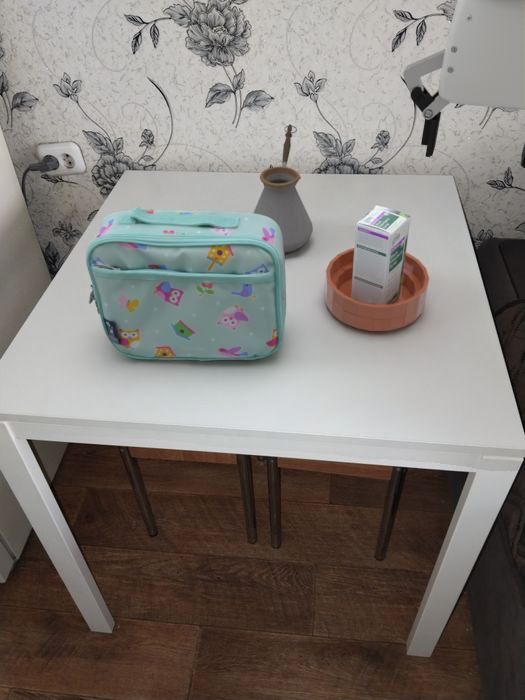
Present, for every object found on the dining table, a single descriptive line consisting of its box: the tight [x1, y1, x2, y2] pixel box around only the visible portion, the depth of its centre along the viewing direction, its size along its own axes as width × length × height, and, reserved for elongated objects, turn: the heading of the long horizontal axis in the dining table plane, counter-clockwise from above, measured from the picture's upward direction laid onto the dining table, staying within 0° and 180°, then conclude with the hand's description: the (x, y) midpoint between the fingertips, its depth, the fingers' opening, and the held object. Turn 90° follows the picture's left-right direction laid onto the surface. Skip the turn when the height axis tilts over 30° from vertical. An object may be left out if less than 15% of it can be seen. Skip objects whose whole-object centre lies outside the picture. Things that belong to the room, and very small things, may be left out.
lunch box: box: [85, 206, 287, 362], centre depth 80 cm, size 27×10×21 cm, turn 87°
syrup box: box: [351, 204, 411, 304], centre depth 87 cm, size 6×6×14 cm
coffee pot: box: [253, 123, 314, 254], centre depth 104 cm, size 21×12×15 cm, turn 171°
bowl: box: [324, 247, 430, 332], centre depth 91 cm, size 15×15×6 cm
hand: (476, 156), depth 62 cm, fingers open, 9 cm apart
